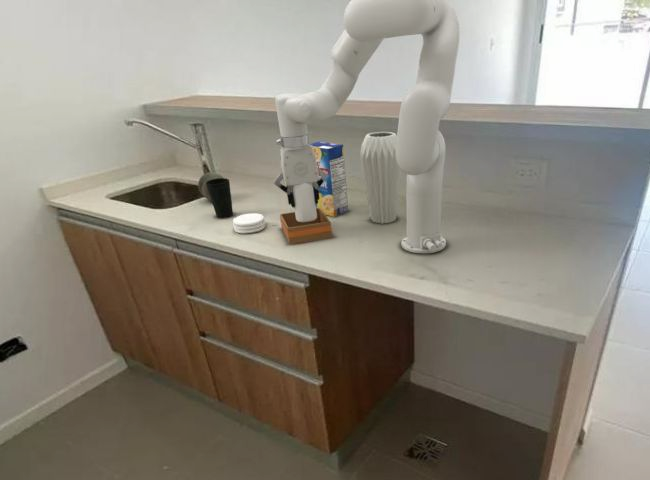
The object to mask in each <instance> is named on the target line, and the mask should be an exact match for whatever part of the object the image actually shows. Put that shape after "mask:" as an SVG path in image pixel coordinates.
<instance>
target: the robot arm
mask: <svg viewBox="0 0 650 480" xmlns="http://www.w3.org/2000/svg"><path fill="white" fill-rule="evenodd" d="M459 23H460V22H459V20H458V15H457V13H456V11H455V9H454V7H453V6H452V4H451V3H450V2H449V1H448V0H350V1H349V3H347V5H346V7H345V9H344V14H343V26H344V30H343V32H342V33H341V34H340V36H339V37H338V39H337V40H336V42H335V44H334V45H333V47H332V48H331V50H330V56H331V59H332V61H333V62H332V63H333V65H332V68H331V71H330V73H329V75H328V76H327V78H326V80H325V81H324V82H323V84H322V85H321V86H320V88H319V89H316V90H313V91H310V92H306V93H299V92H286V93H281V94H278V95H276V96H275V100H274V102H275V107H276V108H275V110H276V115H277V121H278V127H279V133H280V137H279V139H276V141H275V142H276V145H277V146H282V147H281V148H280V173H278V175H277V176H276V178H275V179H274V181H273V184H274V185H275V186H276V187H278V188H279V189H280V190H281V191H282V192H284V193H286V196H287V202H288V205H290V206H291V208H294V207H295V204H294V198H293V194H292V191H291V190H292V187H293V185H298V184H301V183H302V182H303V183H312V184H313V190H314V197H315V203H316V204H317V203H318V200H319V191H318V190H319V187H320V186H321V185H322V183H323V181H324V180H325V179H326V177H327V174H326V173H325V172H323V171H322V170H321V169H319V168H318V167H317V162H316V157H315V153H314V149H313V146H312V145H310V144H311V143H310V141H309V132H308V125H315V124H319V123H320V122H323V121H326V120H328V119H330V118H332V117H334V116H335V115H336V114H337V113H338V112H339V111H340V109H341V108H342V107H343V105H344V104H345V102H346V101H347V100H348V99H349V96H350V95H351V94H352V92H353V90H354V88H355V85H356V83H357V81H358V79H359V76H360V73H361V72H362V70H363V69H364V68H365V67H366V65H367V63H368V62H369V61H370V60H371V58H372V56H373V55H374V53H375V52H376V51H377V49H378V48H379V46H380V45H381V43H382V42H384V40H385V39H392V38H397V37H406V36H414V35H415V36H416V35H421V36H422V46H421V47H422V48H421V50H420V54H419V60H418V70H417V77H416V81H415V84H414V85H412V86H411V87H410V88H409V89H408V90H407V91H406V92H405V94H404V96H403V98H402V101H401V103H400V107H399V108H400V109H399V114H398V115H399V116H398V123H397V133H396V135H397V140H396V150H395V155H396V161H397V164H398V166H399V167H400V169H401V170H402V172H403V173H404V174H406V183H405V185H406V186H405V187H406V189H405V191H406V193H405V194H406V197H405V199H406V200H405V203H406V236H404V237H403V238H402V239H401V242H400V243H401V248H402V249H403V250H405V251H407V252H409V253H412V254H421V255H422V254H423V255H424V254H435V253H438V252H440V251H442V250H444V249H445V248H446V247H447V241H446V238H444V236H441V235H442V207H443V203H442V202H443V182H444V181H443V180H444V168H445V167H444V166H445V159H446V141H445V138H444V136H443V134H442V132H441V131H440V130H439V128H440V121H441V120H442V119H444V117H445V116H446V115H447V113H448V111H449V109H450V105H451V97H452V91H453V85H454V79H455V73H456V65H457V59H458V53H459V46H460V24H459ZM319 174H320V175H321V177H320V178H319ZM282 180H283V182H284V183H285V184H283V183H281V181H282ZM317 180H318V181H317ZM316 181H317V182H316ZM285 185H286V186H285Z"/></svg>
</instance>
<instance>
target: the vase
mask: <svg viewBox="0 0 650 480" xmlns="http://www.w3.org/2000/svg"><path fill="white" fill-rule="evenodd" d="M364 136H365V137H364V138H363V141H362V143H361V146H360V153H359V159H360V164H361V170H362V177H363V181H364V186H365V193H366V198H367V203H368V209H369V214H370V220H371V221H372V222H373V223H375V224H376V223H377V224H382V225H383V224H390V223H393V222H395V221H396V220H397V217H398V216H397V215H398V206H399V198H400V189H401V181H402V180H401V179H402V172H403V171H402V170H401V169H400V167H399V166H398V164H397V161H396V155H395V150H396V140H397V133H396V132H391V131H377V132H375V131H374V132H370V133H367V134H366V135H364Z"/></svg>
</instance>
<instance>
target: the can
mask: <svg viewBox="0 0 650 480" xmlns="http://www.w3.org/2000/svg"><path fill="white" fill-rule="evenodd" d="M291 192H292V194H293V198H294V204H295V207H293V208H294V209H293V210H294V212H295V216H296V220H297V221H298V222H301V223H307V222H312V221H314V220H316V218H317V212H316V205H315V197H314V190H313V184H312V183H303V182H302V183H301V184H298V185H293V187H292V190H291Z"/></svg>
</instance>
